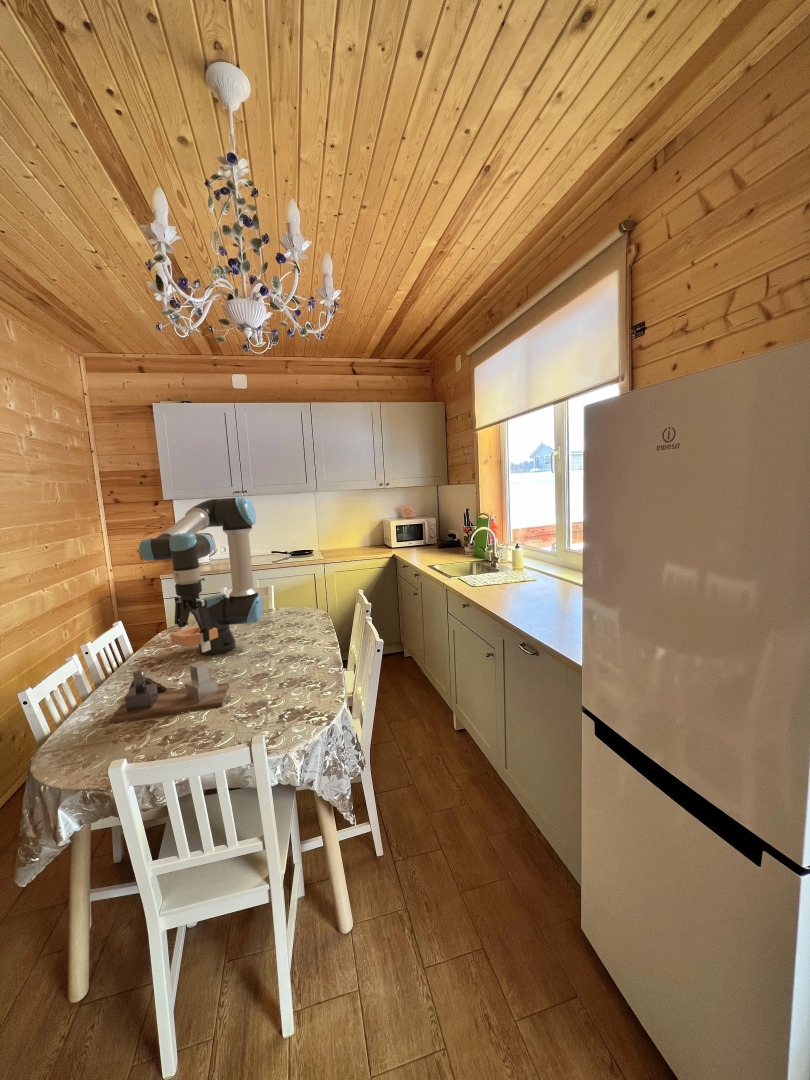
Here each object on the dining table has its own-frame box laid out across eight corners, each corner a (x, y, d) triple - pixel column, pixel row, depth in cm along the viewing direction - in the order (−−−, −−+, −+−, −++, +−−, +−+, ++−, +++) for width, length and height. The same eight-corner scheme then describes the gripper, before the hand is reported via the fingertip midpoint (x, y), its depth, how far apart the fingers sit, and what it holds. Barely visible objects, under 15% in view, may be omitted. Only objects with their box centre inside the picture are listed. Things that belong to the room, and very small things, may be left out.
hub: (186, 697, 145) (182, 666, 143) (205, 688, 151) (202, 658, 149) (199, 702, 141) (195, 670, 140) (218, 692, 147) (214, 661, 145)
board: (128, 701, 148) (127, 697, 147) (229, 686, 154) (228, 682, 154) (110, 724, 134) (109, 719, 134) (221, 706, 141) (221, 702, 141)
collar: (171, 642, 142) (170, 634, 141) (200, 632, 150) (199, 624, 149) (189, 647, 136) (188, 638, 136) (218, 637, 145) (217, 628, 144)
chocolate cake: (177, 688, 157) (153, 665, 158) (166, 692, 150) (142, 667, 151) (157, 709, 156) (133, 685, 157) (145, 714, 149) (121, 689, 150)
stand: (135, 700, 145) (130, 669, 143) (158, 697, 146) (153, 666, 145) (127, 711, 138) (121, 678, 136) (151, 707, 140) (146, 675, 138)
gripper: (156, 581, 143) (165, 646, 146) (198, 587, 131) (206, 658, 134) (178, 576, 150) (187, 639, 153) (220, 581, 137) (228, 649, 141)
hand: (196, 648), depth 143 cm, fingers closed on collar, 10 cm apart
